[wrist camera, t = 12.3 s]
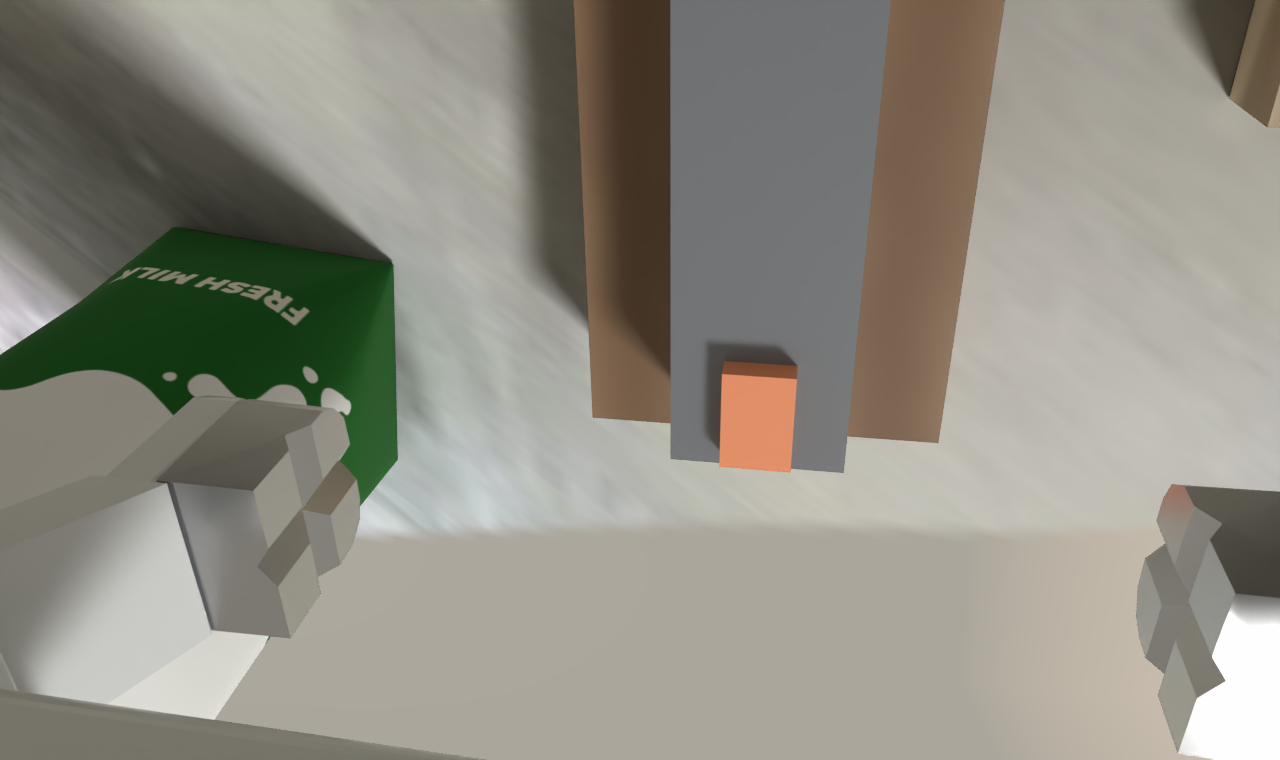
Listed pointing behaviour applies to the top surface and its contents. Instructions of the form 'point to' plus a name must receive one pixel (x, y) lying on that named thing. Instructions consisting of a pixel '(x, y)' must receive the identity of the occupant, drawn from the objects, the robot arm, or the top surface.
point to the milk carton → (200, 386)
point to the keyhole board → (898, 221)
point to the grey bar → (769, 224)
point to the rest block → (1260, 65)
